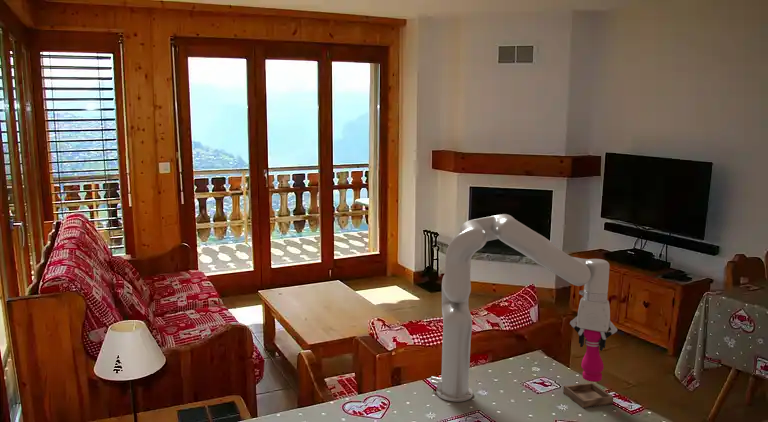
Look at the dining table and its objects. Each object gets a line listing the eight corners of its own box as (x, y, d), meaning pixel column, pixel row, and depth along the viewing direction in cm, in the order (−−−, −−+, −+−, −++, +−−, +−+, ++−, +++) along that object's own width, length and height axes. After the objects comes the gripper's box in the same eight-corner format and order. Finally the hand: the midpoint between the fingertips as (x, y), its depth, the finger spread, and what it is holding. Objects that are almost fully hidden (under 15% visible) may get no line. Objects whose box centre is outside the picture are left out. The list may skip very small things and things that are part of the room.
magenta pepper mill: (606, 382, 201) (607, 325, 198) (584, 382, 201) (585, 325, 198) (599, 373, 208) (600, 318, 205) (578, 373, 208) (579, 318, 205)
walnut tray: (583, 408, 198) (583, 401, 198) (563, 393, 209) (563, 386, 209) (612, 404, 202) (613, 397, 201) (591, 389, 212) (592, 382, 212)
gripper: (566, 295, 201) (563, 346, 203) (621, 303, 192) (617, 356, 195) (571, 289, 207) (567, 339, 210) (624, 297, 199) (620, 348, 202)
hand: (591, 347), depth 203 cm, fingers closed on magenta pepper mill, 5 cm apart
